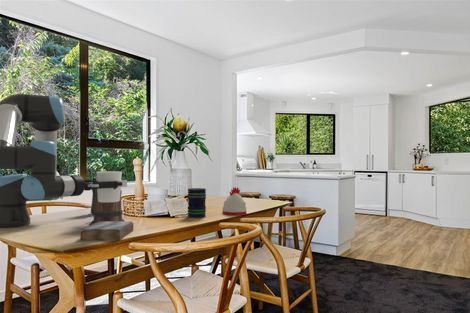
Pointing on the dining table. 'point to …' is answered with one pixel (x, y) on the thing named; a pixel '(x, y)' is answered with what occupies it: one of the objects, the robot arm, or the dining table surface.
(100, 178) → the candle holder
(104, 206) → the tankard
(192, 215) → the storage jar
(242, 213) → the pom-pom beanie
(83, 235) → the dock
